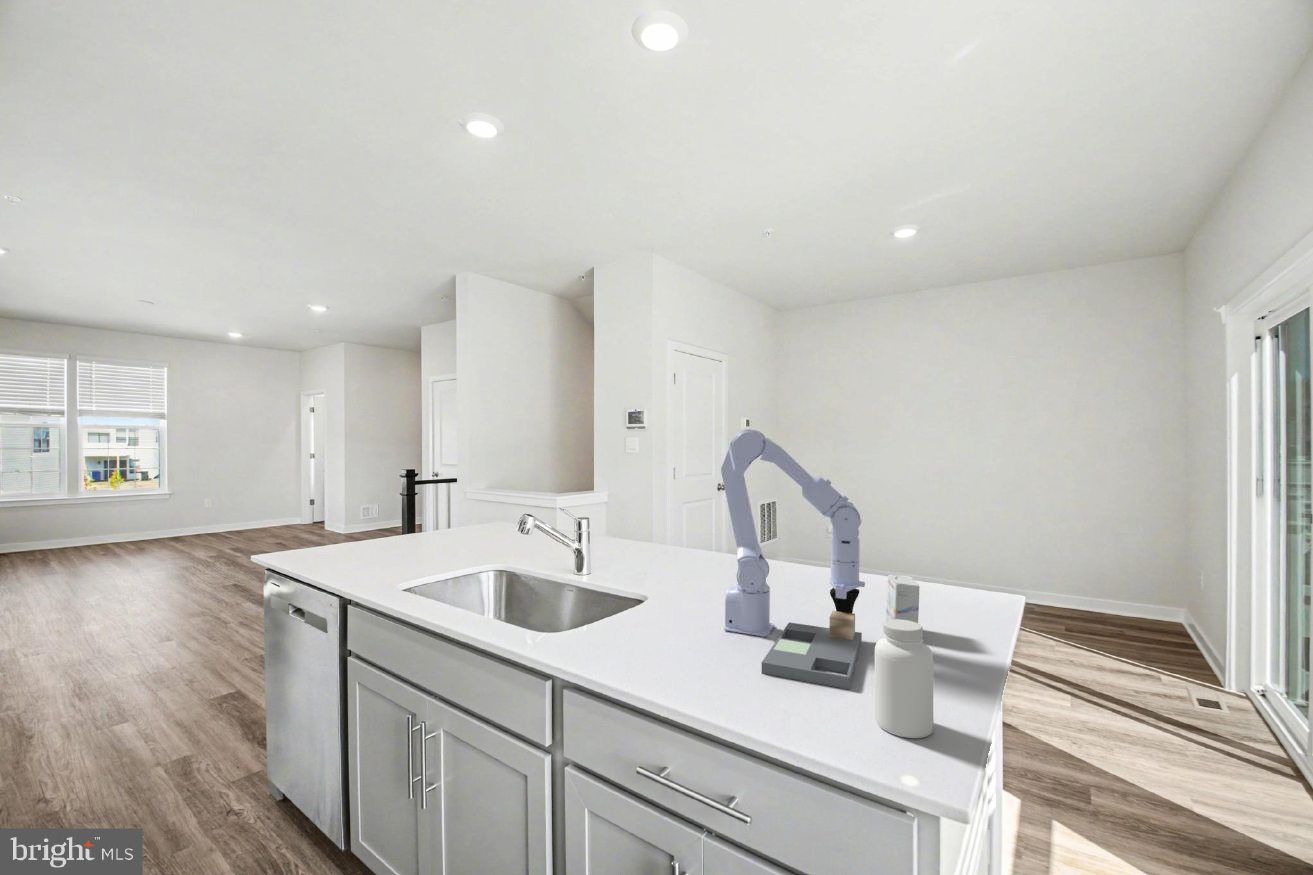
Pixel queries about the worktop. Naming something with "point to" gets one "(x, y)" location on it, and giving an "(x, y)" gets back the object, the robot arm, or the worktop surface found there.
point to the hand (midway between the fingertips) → (844, 624)
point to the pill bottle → (904, 680)
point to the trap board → (813, 656)
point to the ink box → (902, 598)
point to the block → (842, 625)
